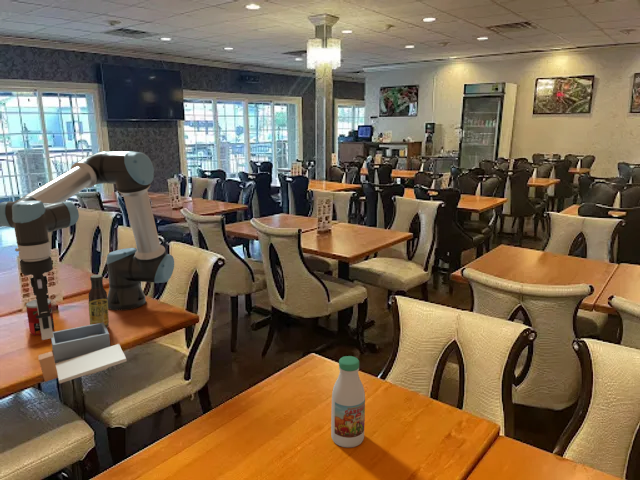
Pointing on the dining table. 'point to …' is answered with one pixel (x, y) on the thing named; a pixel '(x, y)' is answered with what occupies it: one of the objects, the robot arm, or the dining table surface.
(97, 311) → the sauce bottle
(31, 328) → the canned food
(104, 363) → the lid
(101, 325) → the tub
